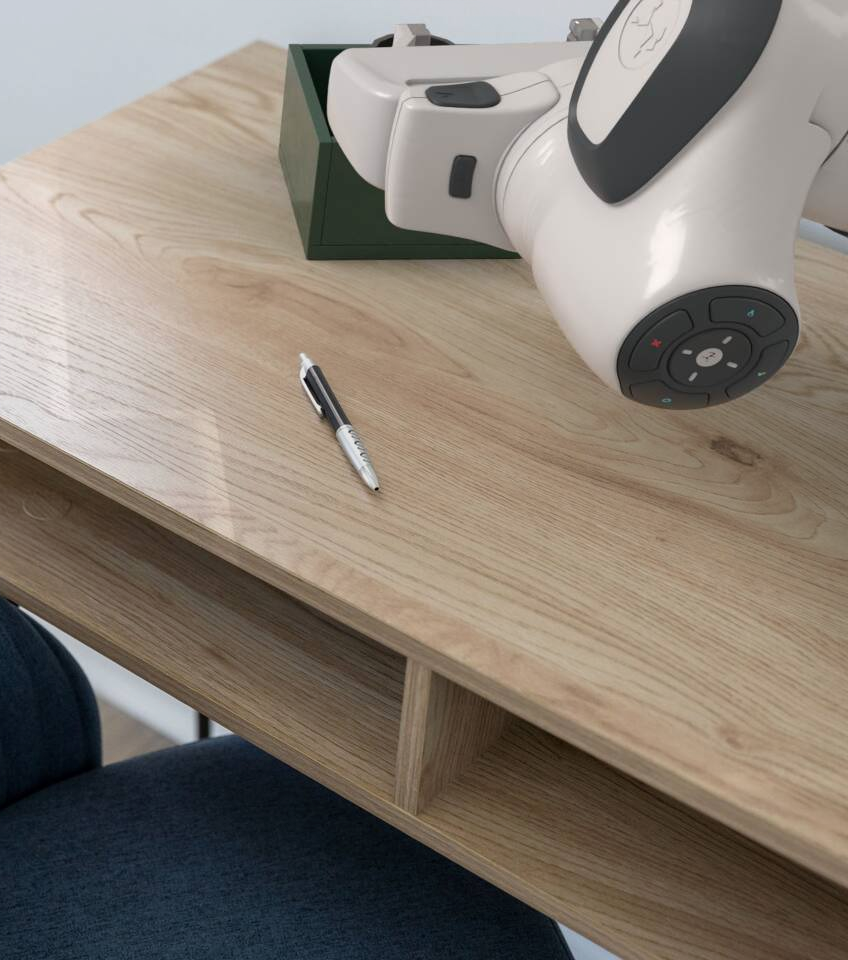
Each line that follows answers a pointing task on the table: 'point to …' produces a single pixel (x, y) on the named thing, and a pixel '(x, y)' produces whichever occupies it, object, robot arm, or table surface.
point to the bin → (343, 179)
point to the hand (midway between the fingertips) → (494, 33)
